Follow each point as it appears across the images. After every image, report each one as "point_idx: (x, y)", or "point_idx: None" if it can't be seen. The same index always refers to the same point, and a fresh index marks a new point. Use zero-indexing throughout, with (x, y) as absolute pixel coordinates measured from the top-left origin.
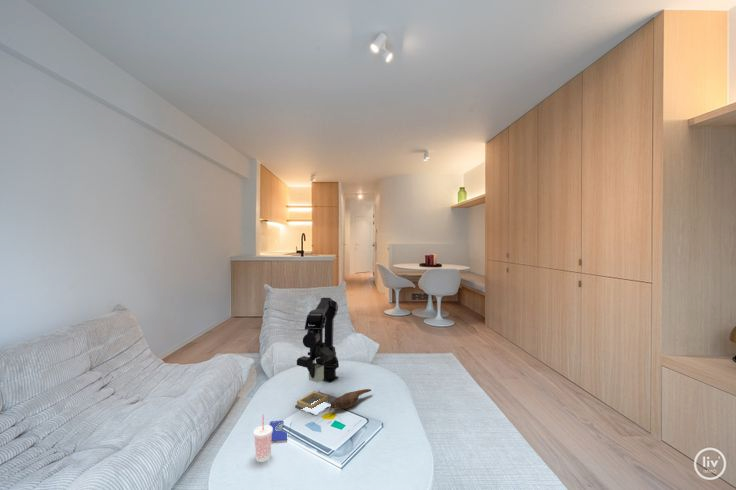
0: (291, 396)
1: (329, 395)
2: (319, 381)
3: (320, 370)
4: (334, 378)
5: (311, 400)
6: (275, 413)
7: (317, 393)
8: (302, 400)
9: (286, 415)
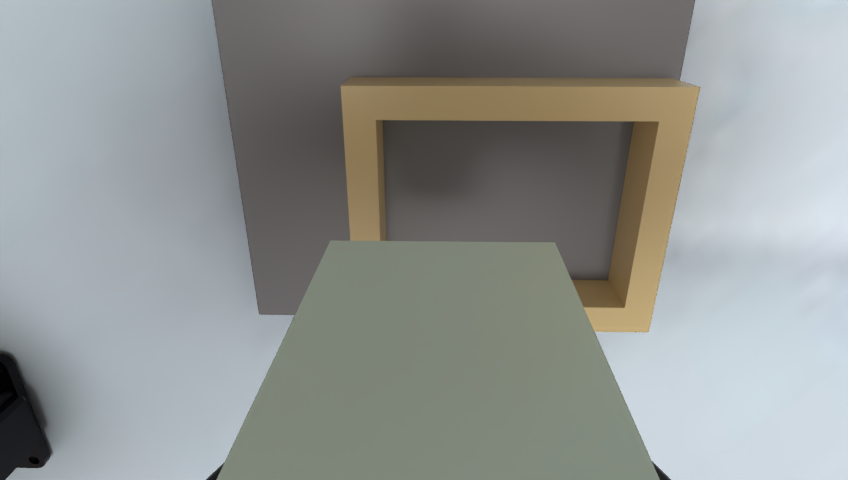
0: None
1: (243, 149)
2: (486, 243)
3: (449, 439)
4: None
5: None
6: (785, 378)
7: None
8: (581, 300)
9: (786, 278)
